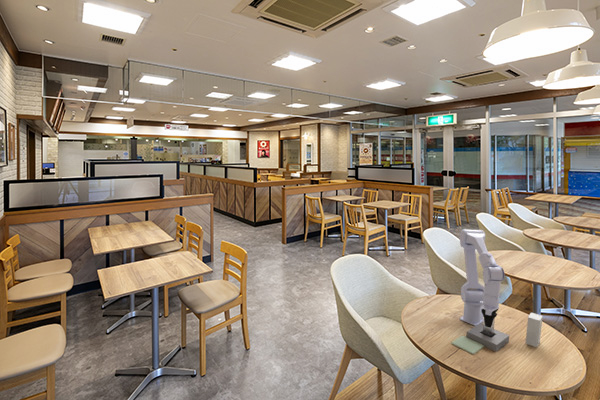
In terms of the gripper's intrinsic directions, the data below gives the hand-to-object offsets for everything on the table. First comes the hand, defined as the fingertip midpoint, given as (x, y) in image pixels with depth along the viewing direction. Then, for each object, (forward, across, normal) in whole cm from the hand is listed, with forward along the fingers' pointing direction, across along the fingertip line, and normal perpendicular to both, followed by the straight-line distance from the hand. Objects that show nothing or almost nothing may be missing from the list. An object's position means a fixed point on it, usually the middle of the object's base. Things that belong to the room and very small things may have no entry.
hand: (488, 324), depth 134 cm
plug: (+4, 0, 0) cm, 4 cm away
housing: (+7, 0, 0) cm, 7 cm away
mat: (+7, +10, -6) cm, 13 cm away
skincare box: (+7, -9, +16) cm, 20 cm away
